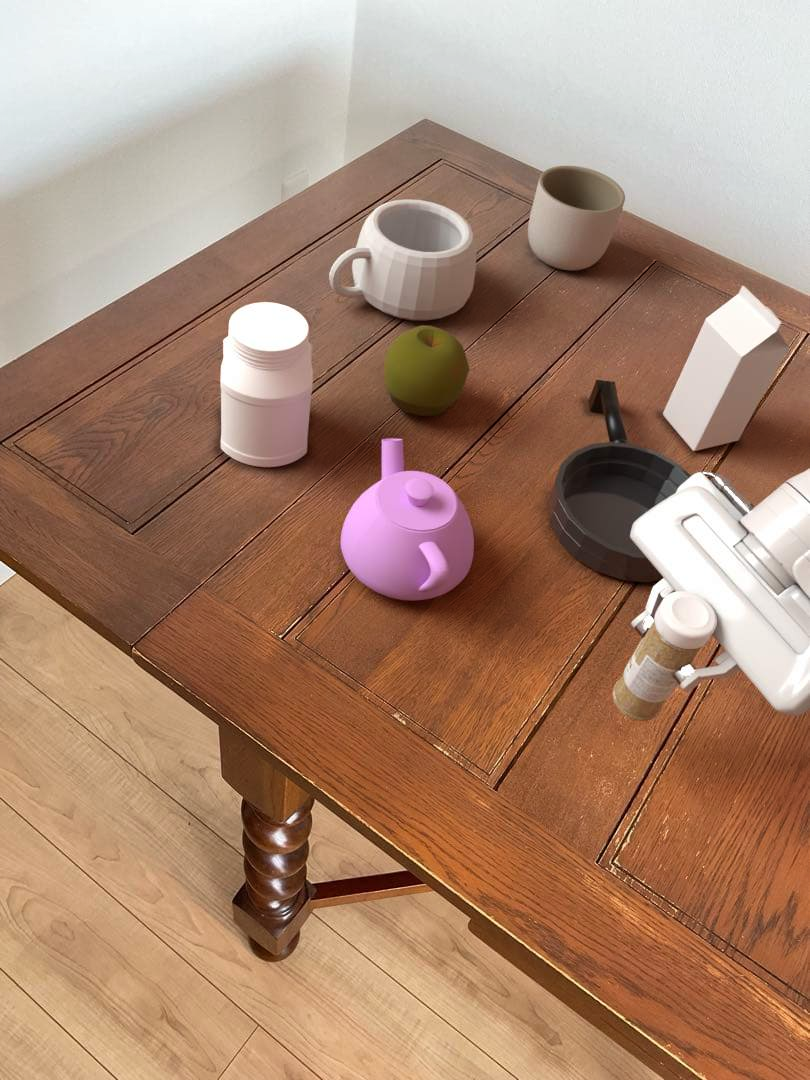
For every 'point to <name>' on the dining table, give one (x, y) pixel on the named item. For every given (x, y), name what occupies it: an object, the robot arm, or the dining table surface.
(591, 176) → the planter
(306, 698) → the dining table surface
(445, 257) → the mug
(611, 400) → the pan handle
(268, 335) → the jar
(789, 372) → the dining table surface
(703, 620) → the spice bottle
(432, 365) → the apple
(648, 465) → the pan
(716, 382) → the milk carton
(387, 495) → the teapot
